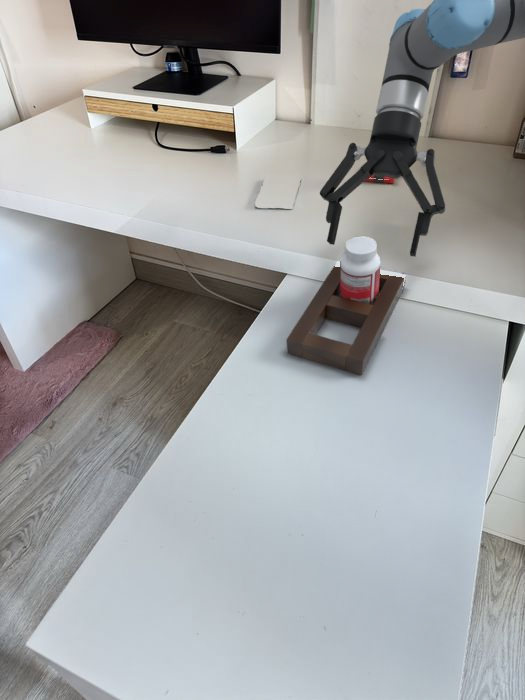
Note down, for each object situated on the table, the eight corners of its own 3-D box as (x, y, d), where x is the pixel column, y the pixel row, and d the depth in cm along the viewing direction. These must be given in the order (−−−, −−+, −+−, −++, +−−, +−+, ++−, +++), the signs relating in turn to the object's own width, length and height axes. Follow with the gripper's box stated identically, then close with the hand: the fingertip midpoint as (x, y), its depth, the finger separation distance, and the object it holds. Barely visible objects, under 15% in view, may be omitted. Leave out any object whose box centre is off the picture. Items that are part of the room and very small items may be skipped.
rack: (404, 287, 85) (406, 273, 83) (361, 375, 72) (362, 361, 70) (338, 272, 89) (338, 258, 87) (287, 353, 77) (286, 339, 75)
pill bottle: (361, 284, 86) (363, 228, 78) (385, 302, 82) (390, 245, 75) (332, 299, 84) (332, 243, 77) (355, 318, 81) (358, 262, 73)
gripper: (478, 133, 81) (449, 264, 83) (328, 123, 89) (304, 242, 91) (482, 112, 74) (450, 256, 75) (319, 103, 82) (293, 233, 84)
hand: (370, 249), depth 83 cm, fingers open, 13 cm apart
